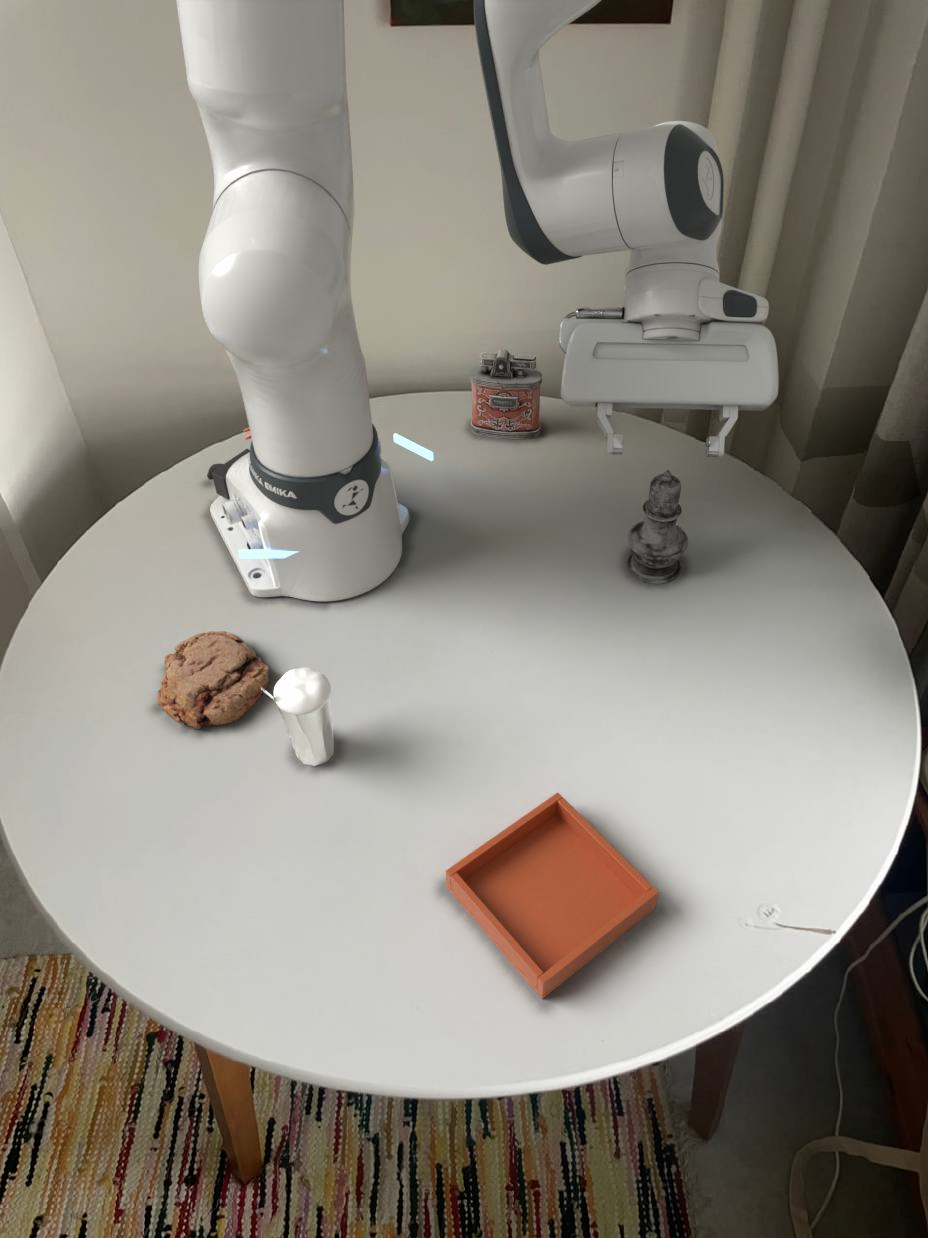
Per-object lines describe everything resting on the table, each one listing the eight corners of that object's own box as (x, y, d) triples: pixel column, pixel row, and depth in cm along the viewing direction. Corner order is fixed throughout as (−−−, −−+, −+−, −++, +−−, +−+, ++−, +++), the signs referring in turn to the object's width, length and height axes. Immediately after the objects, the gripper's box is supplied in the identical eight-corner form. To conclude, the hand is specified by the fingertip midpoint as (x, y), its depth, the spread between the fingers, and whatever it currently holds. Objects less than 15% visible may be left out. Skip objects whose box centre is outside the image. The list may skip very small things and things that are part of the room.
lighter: (468, 435, 118) (466, 359, 111) (473, 418, 120) (471, 342, 113) (538, 441, 117) (541, 364, 110) (541, 423, 119) (544, 347, 112)
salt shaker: (681, 589, 100) (699, 493, 91) (621, 582, 101) (632, 486, 92) (685, 549, 104) (702, 453, 95) (627, 542, 105) (638, 447, 96)
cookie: (242, 628, 98) (236, 606, 96) (286, 702, 92) (281, 680, 89) (141, 669, 95) (133, 647, 93) (180, 749, 88) (171, 727, 86)
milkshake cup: (273, 743, 89) (252, 667, 81) (332, 722, 90) (317, 646, 83) (288, 783, 86) (268, 708, 78) (349, 761, 87) (335, 685, 80)
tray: (446, 887, 79) (445, 870, 77) (556, 809, 83) (557, 791, 81) (542, 999, 72) (543, 984, 71) (655, 908, 77) (659, 892, 75)
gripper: (560, 297, 95) (555, 447, 95) (786, 300, 93) (779, 453, 94) (559, 315, 101) (554, 456, 102) (771, 319, 100) (764, 462, 100)
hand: (664, 455), depth 98 cm, fingers open, 8 cm apart
